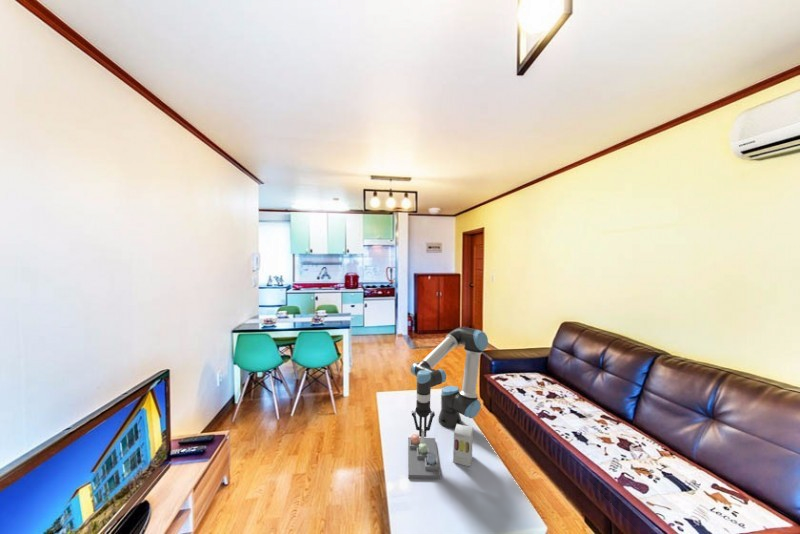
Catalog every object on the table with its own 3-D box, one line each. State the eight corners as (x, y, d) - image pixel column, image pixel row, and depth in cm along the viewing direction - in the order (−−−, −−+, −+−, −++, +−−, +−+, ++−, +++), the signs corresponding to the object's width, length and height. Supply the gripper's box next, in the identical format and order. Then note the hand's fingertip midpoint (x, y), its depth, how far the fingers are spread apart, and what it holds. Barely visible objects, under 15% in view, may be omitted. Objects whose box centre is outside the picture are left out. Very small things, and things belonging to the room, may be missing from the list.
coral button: (418, 439, 173) (418, 434, 173) (419, 444, 168) (419, 438, 168) (411, 439, 173) (411, 433, 173) (411, 444, 169) (411, 438, 168)
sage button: (426, 449, 165) (426, 443, 165) (427, 454, 160) (427, 448, 160) (418, 448, 165) (418, 442, 165) (419, 454, 160) (419, 448, 160)
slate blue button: (435, 459, 157) (435, 452, 156) (435, 465, 152) (435, 458, 152) (426, 459, 157) (426, 452, 157) (427, 465, 152) (427, 458, 152)
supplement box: (452, 462, 160) (453, 432, 159) (455, 451, 168) (455, 423, 167) (470, 467, 156) (471, 436, 155) (472, 455, 165) (473, 426, 164)
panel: (434, 441, 178) (434, 435, 177) (440, 479, 148) (440, 472, 147) (408, 440, 178) (408, 434, 178) (408, 478, 148) (408, 471, 148)
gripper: (434, 396, 165) (433, 438, 166) (411, 396, 165) (410, 437, 166) (436, 403, 157) (435, 446, 158) (411, 403, 158) (410, 446, 159)
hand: (422, 442), depth 162 cm, fingers closed
